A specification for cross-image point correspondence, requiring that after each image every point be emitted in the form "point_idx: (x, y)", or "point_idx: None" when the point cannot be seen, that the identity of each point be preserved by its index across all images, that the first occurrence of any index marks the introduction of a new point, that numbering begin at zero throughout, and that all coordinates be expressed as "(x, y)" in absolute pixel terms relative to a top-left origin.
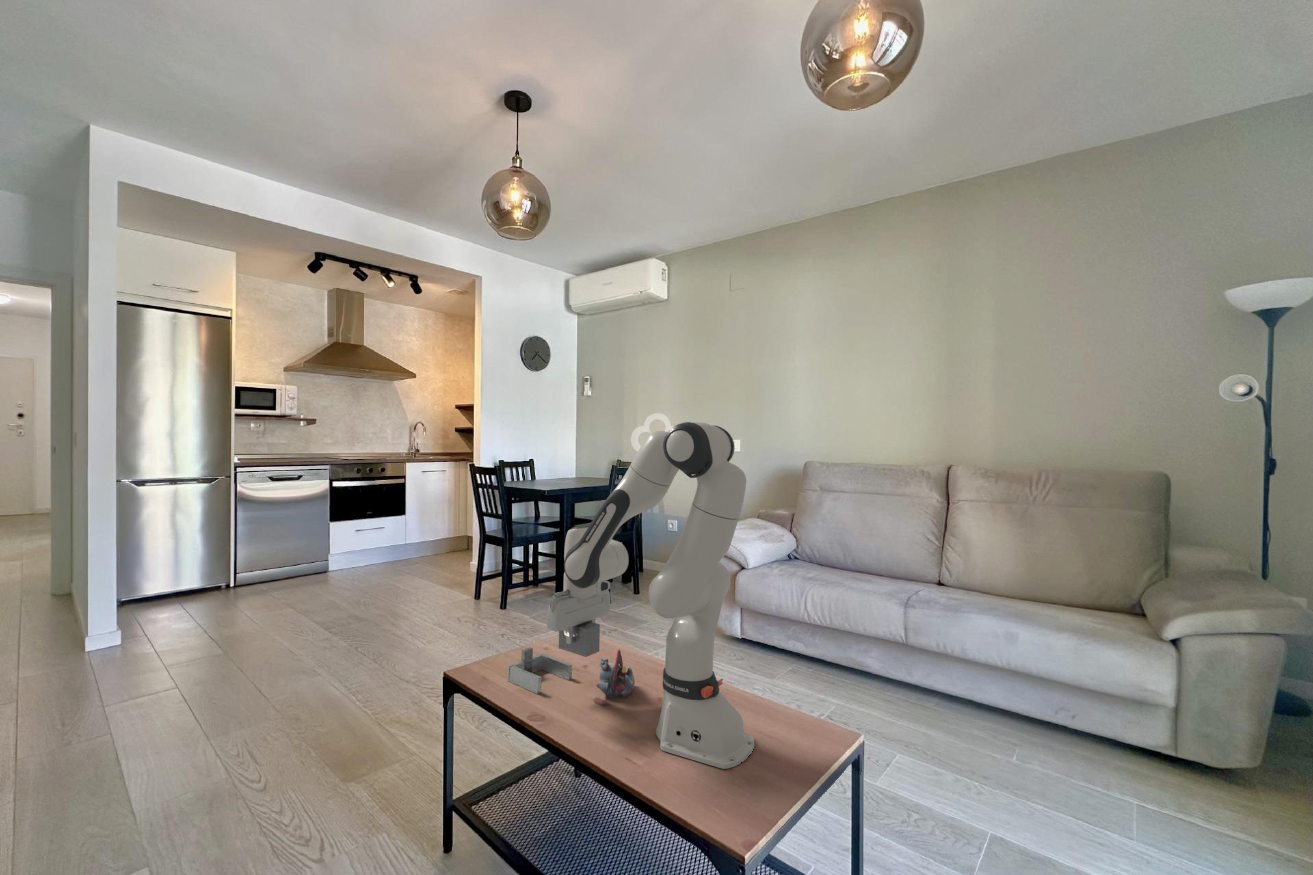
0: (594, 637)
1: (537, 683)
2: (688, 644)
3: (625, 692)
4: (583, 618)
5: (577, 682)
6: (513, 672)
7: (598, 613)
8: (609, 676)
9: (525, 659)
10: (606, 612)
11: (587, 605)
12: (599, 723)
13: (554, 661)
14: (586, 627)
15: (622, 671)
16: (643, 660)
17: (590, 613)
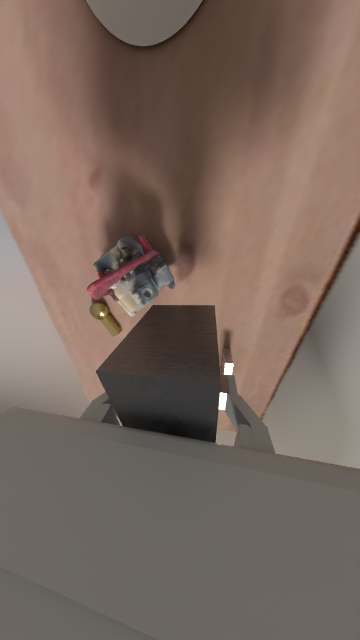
0: (160, 334)
1: (231, 359)
2: None
3: (138, 243)
4: (161, 468)
5: None
6: None
7: (42, 441)
8: (146, 277)
9: None
10: (2, 420)
11: (60, 628)
12: (252, 191)
13: None
14: (193, 397)
15: (99, 304)
16: (54, 311)
17: (90, 479)
